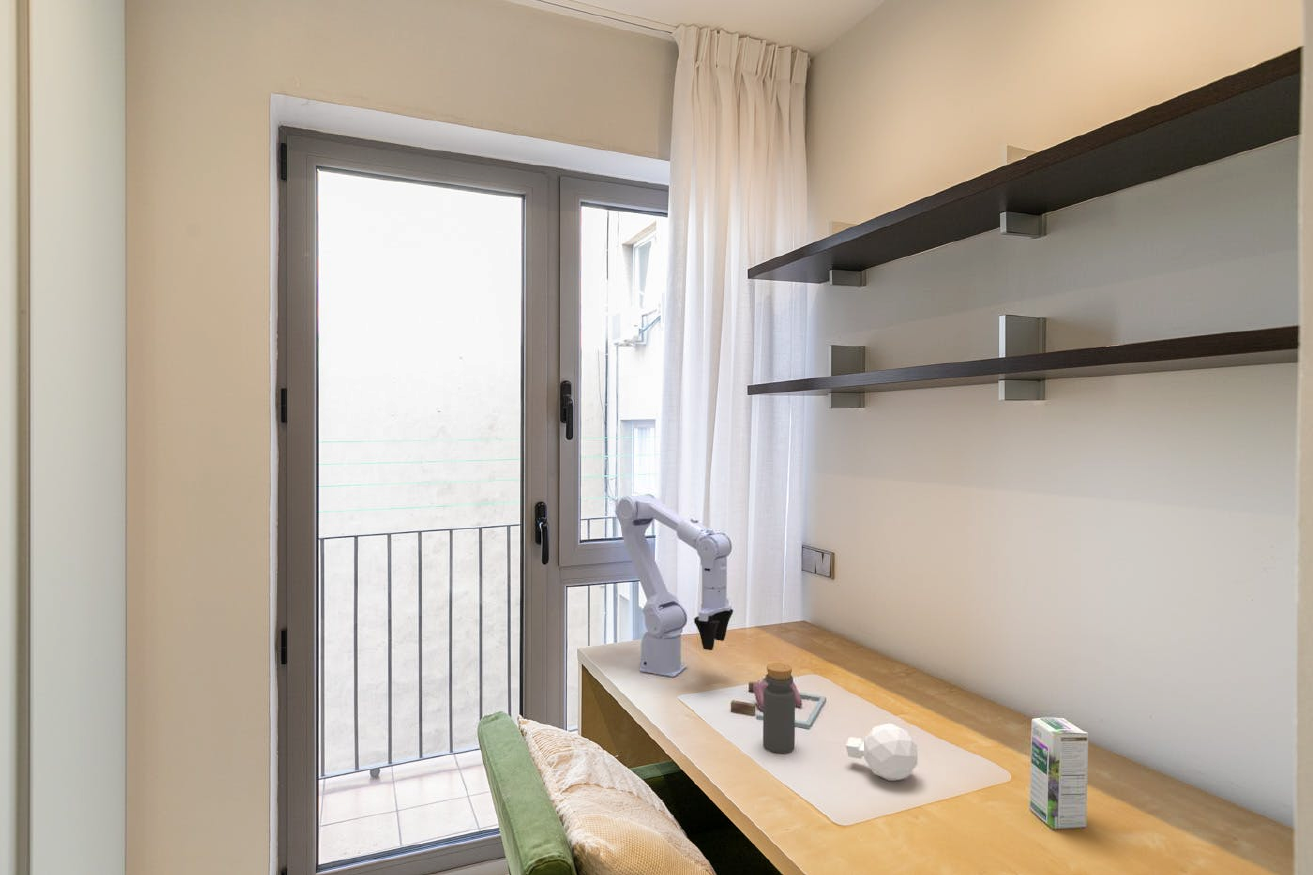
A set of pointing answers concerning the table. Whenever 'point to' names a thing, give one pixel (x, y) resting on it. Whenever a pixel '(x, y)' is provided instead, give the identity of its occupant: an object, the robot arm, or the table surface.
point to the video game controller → (759, 691)
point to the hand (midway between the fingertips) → (713, 644)
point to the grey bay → (812, 716)
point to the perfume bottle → (886, 751)
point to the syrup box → (1058, 773)
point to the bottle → (779, 709)
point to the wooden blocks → (744, 704)
